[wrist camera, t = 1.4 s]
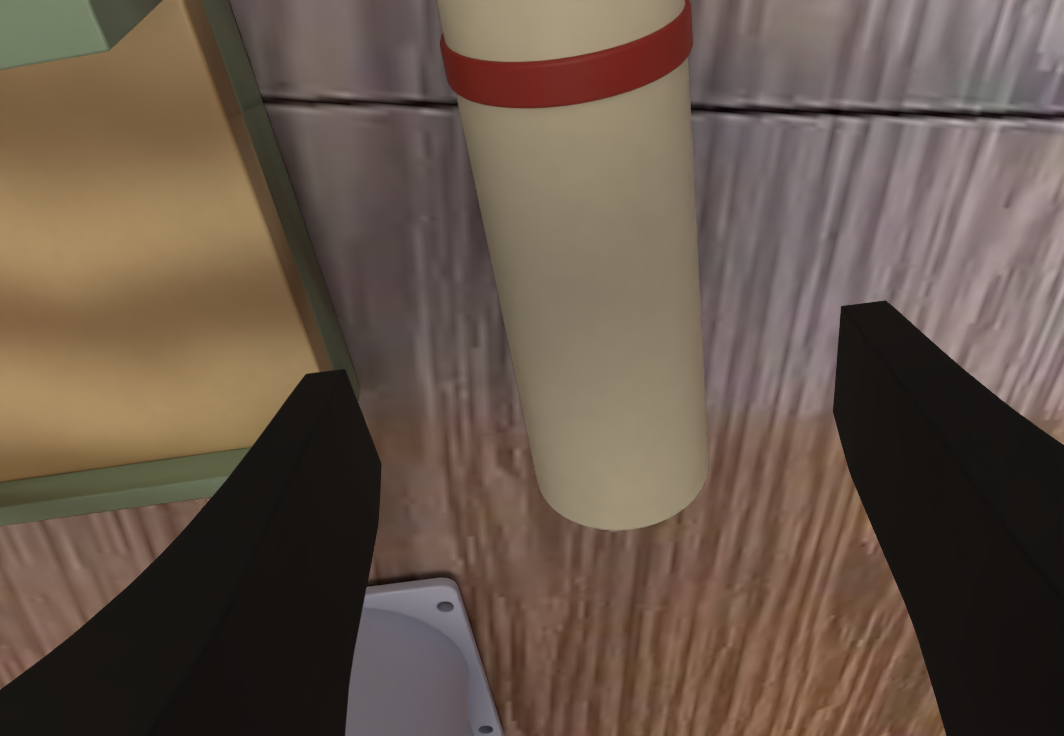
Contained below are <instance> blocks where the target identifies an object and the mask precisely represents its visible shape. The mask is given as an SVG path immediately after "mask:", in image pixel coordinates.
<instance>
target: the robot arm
mask: <svg viewBox="0 0 1064 736" xmlns="http://www.w3.org/2000/svg"><path fill="white" fill-rule="evenodd" d="M833 413H834V417H835V421H836V425H837V429H838V432H839V436H840V440H841V444H842V447H843V451H844V454H845V458H846V461H847V465H848V468H849V472H850V474H851V477H852V479H853V482H854V484H855V487H856V489H857V492H858V494H859V496H860V499H861V501H862V503H863V506H864V508H865V511H866V513H867V515H868V518H869V520H870V522H871V525H872V527H873V529H874V532H875V534H876V537H877V539H878V541H879V544H880V546H881V548H882V551H883V553H884V555H885V558H886V560H887V562H888V565H889V567H890V569H891V572H892V574H893V576H894V579H895V581H896V583H897V586H898V588H899V590H900V593H901V595H902V597H903V600H904V602H905V605H906V607H907V610H908V613H909V615H910V618H911V621H912V623H913V626H914V629H915V631H916V634H917V638H918V641H919V644H920V648H921V651H922V654H923V657H924V661H925V664H926V667H927V670H928V674H929V677H930V680H931V684H932V687H933V690H934V693H935V697H936V700H937V704H938V707H939V711H940V714H941V718H942V721H943V725H944V728H945V732H946V735H947V736H1064V445H1063V444H1061V443H1060V442H1058V441H1057V440H1055V439H1054V438H1052V437H1051V436H1050V435H1048V434H1047V433H1045V432H1044V431H1043V430H1041V429H1040V428H1038V427H1037V426H1036V425H1034V424H1033V423H1032V422H1030V421H1029V420H1027V419H1026V418H1025V417H1023V416H1022V415H1020V414H1019V413H1018V412H1016V411H1015V410H1014V409H1012V408H1011V407H1010V406H1009V405H1007V404H1006V403H1005V402H1003V401H1002V400H1001V399H1000V398H998V397H997V396H996V395H995V394H993V393H992V392H991V391H990V390H989V389H987V388H986V387H985V386H984V385H982V384H981V383H980V382H979V381H977V380H976V379H975V378H974V377H973V376H971V375H970V374H969V373H968V372H966V371H965V370H964V369H963V368H962V367H961V366H959V365H958V364H957V363H956V362H955V361H954V360H952V359H951V358H950V357H949V356H948V355H947V354H946V353H944V352H943V351H942V350H941V349H940V348H939V347H938V346H936V345H935V344H934V343H933V342H932V341H931V340H930V339H929V338H927V337H926V336H925V335H924V334H923V333H922V332H921V331H920V330H919V329H917V328H916V327H915V326H914V325H913V324H912V323H911V322H910V321H909V320H907V319H906V318H905V317H904V316H903V315H902V314H901V313H900V312H899V311H897V310H896V309H895V308H894V307H893V306H892V305H890V304H889V303H888V302H887V301H878V302H870V303H863V304H855V305H847V306H841V315H840V328H839V341H838V354H837V367H836V380H835V393H834V405H833ZM380 487H381V461H380V459H379V456H378V453H377V451H376V448H375V446H374V443H373V440H372V438H371V435H370V432H369V430H368V427H367V425H366V422H365V419H364V417H363V414H362V411H361V409H360V406H359V404H358V401H357V398H356V396H355V393H354V391H353V388H352V385H351V383H350V380H349V377H348V375H347V372H346V370H345V369H340V370H332V371H324V372H316V373H308V374H305V376H304V377H303V378H302V379H301V381H300V382H299V383H298V385H297V386H296V387H295V389H294V390H293V391H292V393H291V394H290V395H289V397H288V398H287V399H286V401H285V402H284V404H283V405H282V406H281V408H280V409H279V410H278V412H277V413H276V415H275V416H274V417H273V419H272V420H271V421H270V423H269V424H268V425H267V427H266V428H265V430H264V431H263V432H262V434H261V435H260V436H259V438H258V439H257V440H256V442H255V443H254V444H253V446H252V447H251V448H250V450H249V451H248V452H247V454H246V455H245V456H244V457H243V459H242V460H241V461H240V463H239V464H238V465H237V467H236V468H235V469H234V471H233V472H232V473H231V474H230V476H229V477H228V478H227V480H226V481H225V482H224V483H223V484H222V486H221V487H220V488H219V489H218V490H217V492H216V493H215V494H214V495H213V496H212V498H211V499H210V500H209V501H208V502H207V503H206V505H205V506H204V507H203V508H202V509H201V511H200V512H199V513H198V514H197V515H196V517H195V518H194V519H193V520H192V521H191V522H190V524H189V525H188V526H187V527H186V528H185V529H184V530H183V531H182V532H181V534H180V535H179V536H178V537H177V538H176V539H175V540H174V541H173V542H172V543H171V544H170V545H169V546H168V547H167V548H166V550H165V551H164V552H163V553H162V554H161V555H160V556H159V557H158V558H157V559H156V560H155V561H154V562H153V563H151V564H150V565H149V566H148V567H147V568H146V569H145V570H144V571H143V572H142V573H141V574H140V575H139V576H138V577H137V578H136V579H135V580H134V581H133V582H132V583H131V584H130V585H129V586H128V587H127V588H126V589H124V590H123V591H122V592H121V593H120V594H119V595H118V596H116V597H115V598H114V599H113V600H112V601H111V602H110V603H108V604H107V605H106V606H105V607H104V608H103V609H102V610H101V611H99V612H98V613H97V614H96V615H95V616H94V617H93V618H91V619H90V620H89V621H88V622H87V623H86V624H85V625H83V626H82V627H81V628H80V629H79V630H78V631H76V632H75V633H74V634H73V635H72V636H70V637H69V638H68V639H67V640H65V641H64V642H63V643H62V644H60V645H59V646H58V647H57V648H55V649H54V650H53V651H51V652H50V653H49V654H48V655H46V656H45V657H44V658H43V659H41V660H40V661H39V662H37V663H36V664H35V665H33V666H32V667H31V668H29V669H28V670H27V671H25V672H24V673H23V674H21V675H20V676H18V677H17V678H16V679H14V680H13V681H12V682H10V683H9V684H8V685H6V686H5V687H3V688H2V689H1V690H0V736H504V733H503V729H502V726H501V723H500V720H499V717H498V713H497V710H496V707H495V704H494V700H493V697H492V694H491V691H490V688H489V684H488V681H487V678H486V675H485V671H484V668H483V665H482V662H481V659H480V655H479V652H478V649H477V646H476V642H475V639H474V636H473V633H472V629H471V626H470V623H469V620H468V617H467V613H466V610H465V607H464V604H463V600H462V597H461V594H460V591H459V588H458V585H457V584H456V582H454V581H453V580H451V579H449V578H432V579H424V580H416V581H408V582H401V583H393V584H385V585H377V586H369V587H367V583H368V578H369V573H370V567H371V562H372V557H373V551H374V546H375V540H376V535H377V529H378V521H379V506H380Z"/></svg>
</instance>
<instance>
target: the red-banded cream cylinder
mask: <svg viewBox="0 0 1064 736" xmlns="http://www.w3.org/2000/svg"><path fill="white" fill-rule="evenodd" d="M436 1H437V6H438V11H439V15H440V20H441V25H442V30H443V34H442V36H441V41H440V47H441V52H442V56H443V61H444V66H445V70H446V75H447V80H448V83H449V85H450V86H451V88H452V89H453V91H454V92H456V96H457V101H458V106H459V111H460V115H461V120H462V125H463V130H464V134H465V139H466V144H467V149H468V154H469V158H470V163H471V168H472V173H473V177H474V182H475V187H476V192H477V196H478V201H479V206H480V211H481V215H482V220H483V225H484V230H485V234H486V239H487V244H488V249H489V253H490V258H491V263H492V268H493V273H494V277H495V282H496V287H497V292H498V296H499V301H500V306H501V311H502V315H503V320H504V325H505V330H506V334H507V339H508V344H509V349H510V353H511V358H512V363H513V368H514V372H515V377H516V382H517V387H518V392H519V396H520V401H521V406H522V411H523V415H524V420H525V425H526V430H527V434H528V439H529V444H530V449H531V453H532V458H533V463H534V468H535V472H536V477H537V482H538V486H539V489H540V491H541V494H542V495H543V497H544V498H545V500H546V501H547V502H548V504H549V505H550V506H551V507H552V508H553V509H554V510H555V511H557V512H558V513H559V514H560V515H562V516H564V517H565V518H567V519H568V520H571V521H573V522H575V523H577V524H580V525H583V526H586V527H590V528H595V529H601V530H631V529H638V528H643V527H647V526H650V525H653V524H657V523H659V522H662V521H664V520H666V519H668V518H670V517H672V516H674V515H675V514H677V513H679V512H680V511H681V510H683V509H684V508H685V507H687V506H688V505H689V504H690V503H691V502H692V501H693V500H694V499H695V497H696V496H697V495H698V494H699V492H700V491H701V489H702V487H703V485H704V483H705V481H706V478H707V475H708V469H709V457H708V438H707V418H706V399H705V379H704V359H703V340H702V320H701V301H700V281H699V262H698V242H697V222H696V203H695V183H694V164H693V144H692V124H691V105H690V85H689V66H688V56H689V54H690V51H691V48H692V46H693V35H692V14H691V3H690V1H689V0H436Z"/></svg>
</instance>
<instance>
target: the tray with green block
mask: <svg viewBox="0 0 1064 736" xmlns="http://www.w3.org/2000/svg"><path fill="white" fill-rule="evenodd" d="M340 369H345V370H346V372H347V375H348V377H349V380H350V383H351V385H352V388H353V391H354V393H355V396H356V398H357V401H358V399H359V394H360V386H359V383H358V380H357V377H356V374H355V372H354V369H353V366H352V363H351V360H350V357H349V354H348V351H347V348H346V345H345V342H344V339H343V336H342V333H341V330H340V327H339V325H338V322H337V319H336V316H335V313H334V310H333V307H332V304H331V301H330V298H329V295H328V292H327V289H326V286H325V283H324V280H323V278H322V275H321V272H320V269H319V266H318V263H317V260H316V257H315V254H314V251H313V248H312V245H311V242H310V239H309V236H308V233H307V231H306V228H305V225H304V222H303V219H302V216H301V213H300V210H299V207H298V204H297V201H296V198H295V195H294V192H293V189H292V186H291V184H290V181H289V178H288V175H287V172H286V169H285V166H284V163H283V160H282V157H281V154H280V151H279V148H278V145H277V142H276V139H275V137H274V134H273V131H272V128H271V125H270V122H269V119H268V116H267V113H266V110H265V107H264V104H263V101H262V98H261V95H260V92H259V90H258V87H257V84H256V81H255V78H254V75H253V72H252V69H251V66H250V63H249V60H248V57H247V54H246V51H245V48H244V45H243V42H242V40H241V37H240V34H239V31H238V28H237V25H236V22H235V19H234V16H233V13H232V10H231V7H230V4H229V1H228V0H0V526H3V525H11V524H18V523H25V522H33V521H40V520H47V519H55V518H62V517H69V516H77V515H84V514H91V513H99V512H106V511H113V510H121V509H128V508H135V507H142V506H150V505H157V504H164V503H172V502H179V501H186V500H194V499H201V498H208V497H212V496H213V495H214V494H215V493H216V492H217V490H218V489H219V488H220V487H221V486H222V484H223V483H224V482H225V481H226V480H227V478H228V477H229V476H230V474H231V473H232V472H233V471H234V469H235V468H236V467H237V465H238V464H239V463H240V461H241V460H242V459H243V457H244V456H245V455H246V454H247V452H248V451H249V450H250V448H251V447H252V446H253V444H254V443H255V442H256V440H257V439H258V438H259V436H260V435H261V434H262V432H263V431H264V430H265V428H266V427H267V425H268V424H269V423H270V421H271V420H272V419H273V417H274V416H275V415H276V413H277V412H278V410H279V409H280V408H281V406H282V405H283V404H284V402H285V401H286V399H287V398H288V397H289V395H290V394H291V393H292V391H293V390H294V389H295V387H296V386H297V385H298V383H299V382H300V381H301V379H302V378H303V377H304V376H305V374H308V373H316V372H324V371H332V370H340Z"/></svg>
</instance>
